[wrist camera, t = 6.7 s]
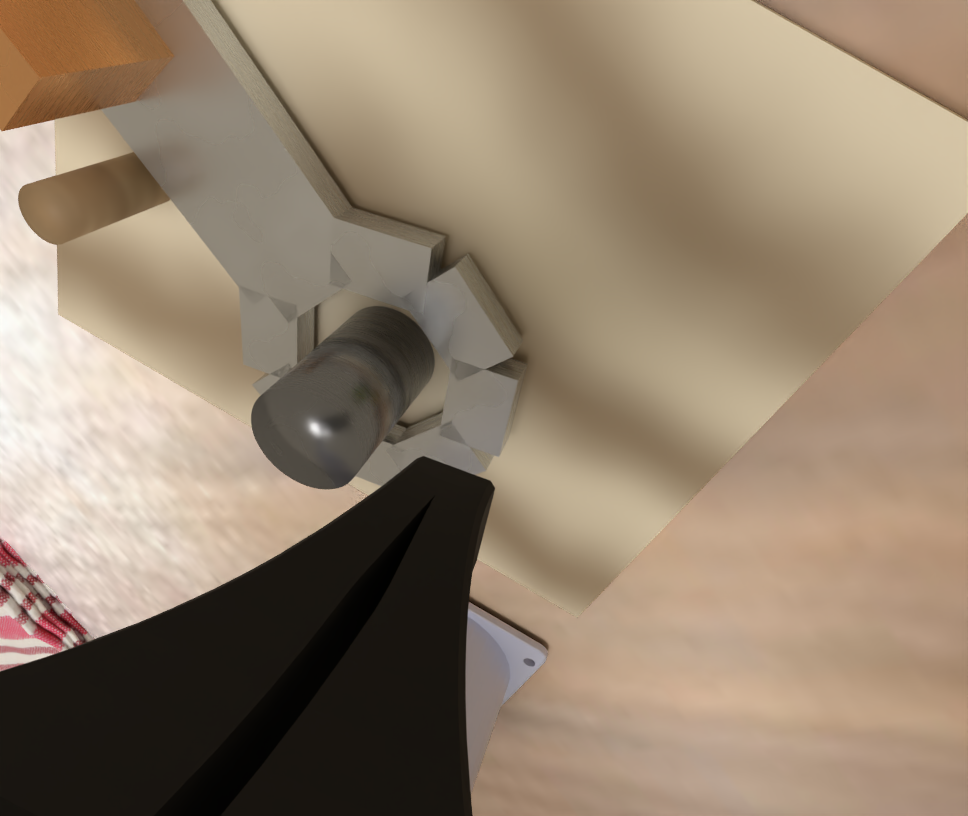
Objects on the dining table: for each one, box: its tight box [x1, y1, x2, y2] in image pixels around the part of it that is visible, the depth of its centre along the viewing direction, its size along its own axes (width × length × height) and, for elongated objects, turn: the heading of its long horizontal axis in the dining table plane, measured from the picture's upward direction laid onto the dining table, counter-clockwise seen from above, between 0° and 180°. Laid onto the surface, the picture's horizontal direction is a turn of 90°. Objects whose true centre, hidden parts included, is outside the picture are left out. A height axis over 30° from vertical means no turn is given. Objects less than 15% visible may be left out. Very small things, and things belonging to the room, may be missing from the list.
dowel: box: [18, 152, 171, 245], centre depth 19 cm, size 2×2×4 cm
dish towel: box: [0, 540, 94, 671], centre depth 47 cm, size 17×23×4 cm
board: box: [55, 0, 968, 618], centre depth 20 cm, size 19×23×1 cm
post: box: [251, 306, 435, 489], centre depth 19 cm, size 3×3×5 cm
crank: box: [0, 0, 528, 486], centre depth 18 cm, size 17×9×5 cm, turn 35°
